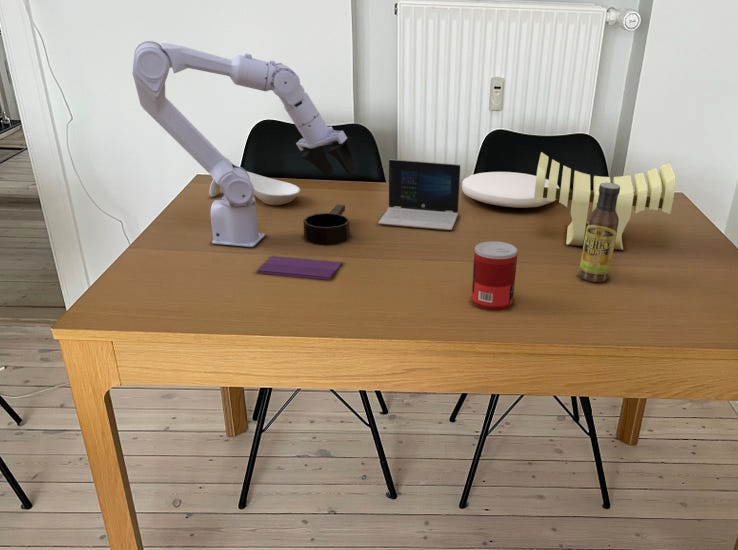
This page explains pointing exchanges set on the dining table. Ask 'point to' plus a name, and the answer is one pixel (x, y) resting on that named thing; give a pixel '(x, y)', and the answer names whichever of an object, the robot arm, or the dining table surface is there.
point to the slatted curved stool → (584, 195)
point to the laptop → (422, 195)
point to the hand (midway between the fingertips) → (340, 172)
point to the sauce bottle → (600, 235)
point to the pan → (327, 227)
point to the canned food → (494, 275)
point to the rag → (300, 268)
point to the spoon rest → (266, 190)
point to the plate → (503, 189)
